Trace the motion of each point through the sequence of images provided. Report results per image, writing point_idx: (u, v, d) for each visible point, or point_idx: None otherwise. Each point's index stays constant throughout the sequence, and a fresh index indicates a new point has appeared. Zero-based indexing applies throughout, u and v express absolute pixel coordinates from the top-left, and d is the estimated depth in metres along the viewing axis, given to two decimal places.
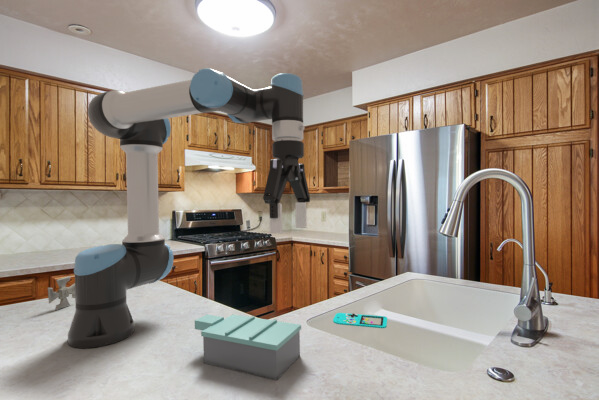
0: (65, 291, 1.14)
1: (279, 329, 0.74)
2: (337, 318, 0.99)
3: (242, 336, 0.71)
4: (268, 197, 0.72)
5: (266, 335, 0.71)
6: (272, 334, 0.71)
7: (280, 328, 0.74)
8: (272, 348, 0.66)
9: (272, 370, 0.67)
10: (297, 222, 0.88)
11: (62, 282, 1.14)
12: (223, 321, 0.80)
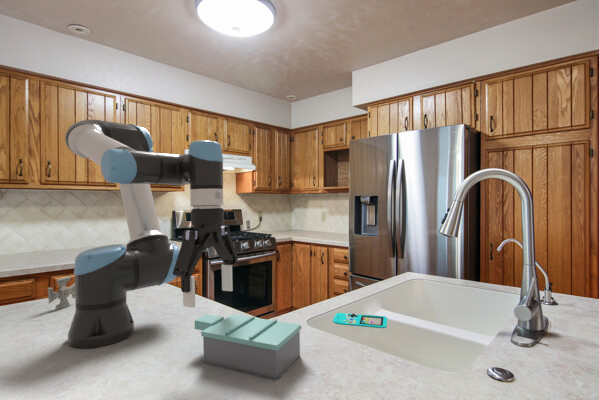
0: (65, 291, 1.14)
1: (279, 329, 0.74)
2: (337, 318, 0.99)
3: (242, 336, 0.71)
4: (177, 273, 0.71)
5: (266, 335, 0.71)
6: (272, 334, 0.71)
7: (280, 328, 0.74)
8: (272, 348, 0.66)
9: (272, 370, 0.67)
10: (223, 284, 0.86)
11: (62, 282, 1.14)
12: (223, 321, 0.80)
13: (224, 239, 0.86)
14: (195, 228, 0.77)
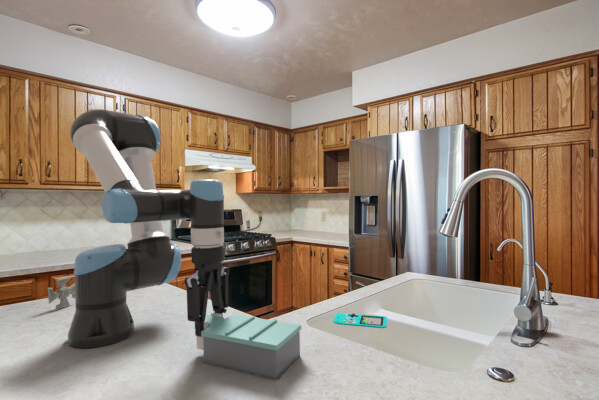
0: (65, 291, 1.14)
1: (279, 329, 0.74)
2: (337, 318, 0.99)
3: (242, 336, 0.71)
4: (192, 320, 0.75)
5: (266, 335, 0.71)
6: (272, 334, 0.71)
7: (280, 328, 0.74)
8: (272, 348, 0.66)
9: (272, 370, 0.67)
10: None
11: (62, 282, 1.14)
12: (223, 321, 0.80)
13: (221, 280, 0.84)
14: (195, 268, 0.77)
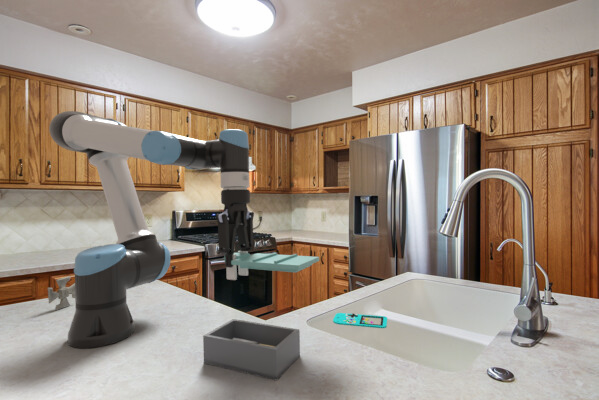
0: (65, 291, 1.14)
1: (299, 258, 0.83)
2: (337, 318, 0.99)
3: (268, 262, 0.80)
4: (223, 251, 0.85)
5: (289, 261, 0.80)
6: (294, 261, 0.81)
7: (301, 258, 0.84)
8: (295, 268, 0.76)
9: (272, 370, 0.67)
10: (239, 269, 0.92)
11: (62, 282, 1.14)
12: (249, 256, 0.89)
13: (246, 223, 0.94)
14: (225, 206, 0.87)
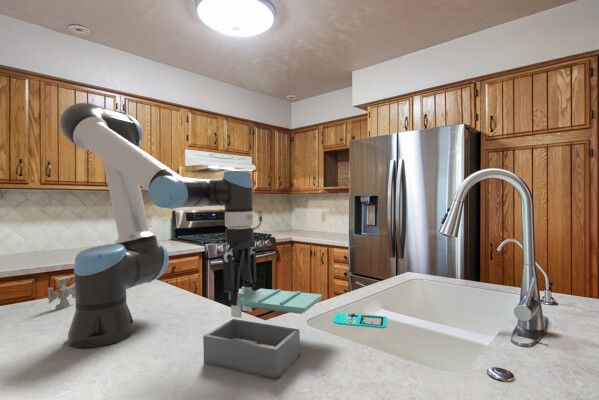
0: (65, 291, 1.14)
1: (303, 297, 0.86)
2: (337, 318, 0.99)
3: (273, 302, 0.82)
4: (228, 291, 0.86)
5: (294, 301, 0.83)
6: (299, 301, 0.83)
7: (305, 297, 0.86)
8: (300, 310, 0.78)
9: (272, 370, 0.67)
10: (243, 305, 0.94)
11: (62, 282, 1.14)
12: (253, 293, 0.91)
13: None
14: (230, 246, 0.89)
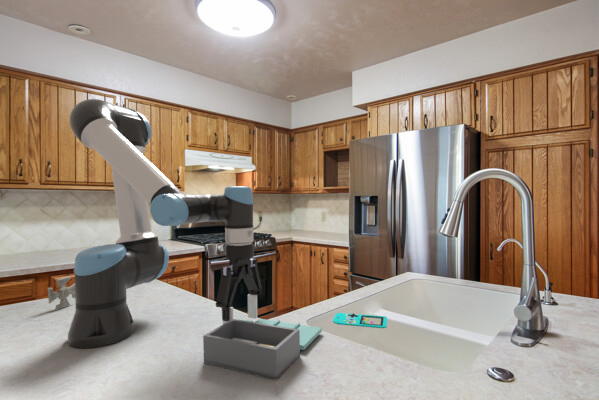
0: (65, 291, 1.14)
1: (303, 332, 0.86)
2: (337, 318, 0.99)
3: None
4: (220, 305, 0.84)
5: None
6: None
7: (304, 331, 0.86)
8: (300, 348, 0.78)
9: (272, 370, 0.67)
10: (249, 312, 0.97)
11: (62, 282, 1.14)
12: None
13: (251, 270, 0.97)
14: (230, 262, 0.89)
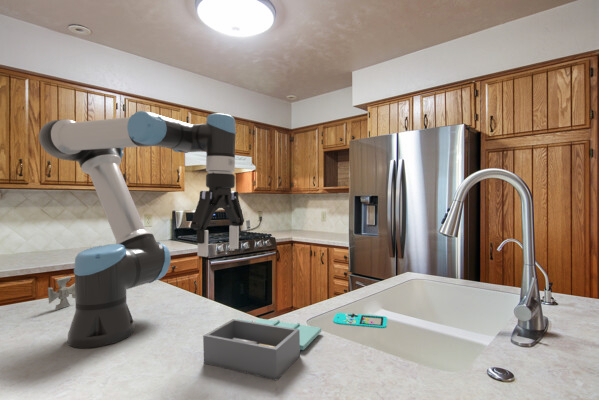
0: (65, 291, 1.14)
1: (302, 331, 0.86)
2: (337, 318, 0.99)
3: None
4: (194, 225, 0.82)
5: None
6: None
7: (304, 331, 0.86)
8: None
9: (272, 370, 0.67)
10: (230, 243, 0.98)
11: (62, 282, 1.14)
12: None
13: (233, 203, 0.97)
14: (210, 190, 0.88)
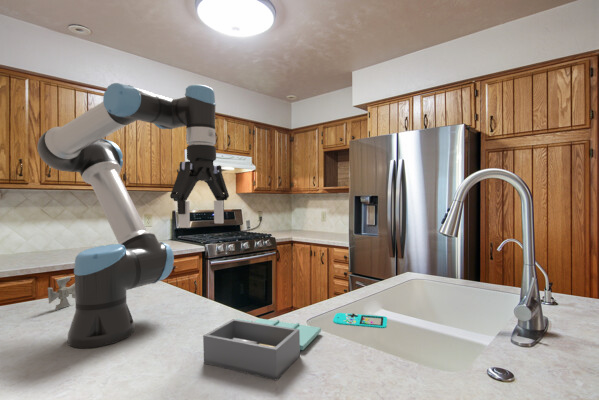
0: (65, 291, 1.14)
1: (302, 331, 0.86)
2: (337, 318, 0.99)
3: None
4: (174, 195, 0.81)
5: None
6: None
7: (303, 331, 0.86)
8: None
9: (272, 370, 0.67)
10: (215, 218, 0.97)
11: (62, 282, 1.14)
12: None
13: (216, 177, 0.96)
14: (190, 161, 0.87)
